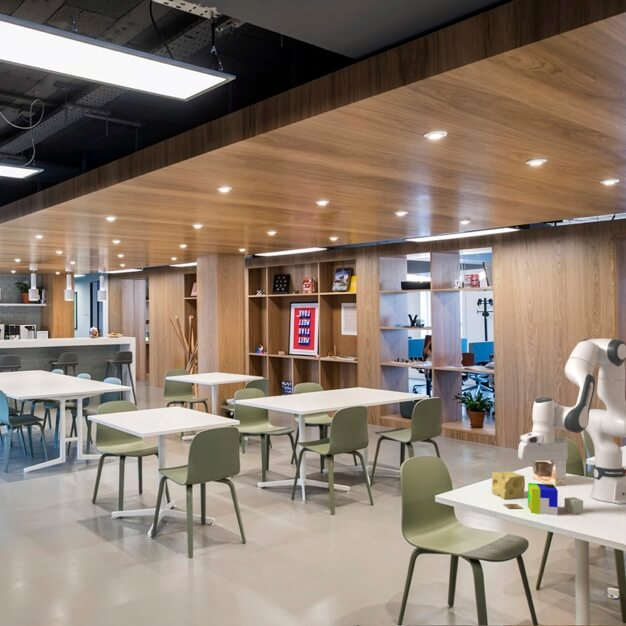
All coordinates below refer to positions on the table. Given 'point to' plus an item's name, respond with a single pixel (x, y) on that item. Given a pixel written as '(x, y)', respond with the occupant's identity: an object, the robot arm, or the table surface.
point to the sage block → (573, 505)
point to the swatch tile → (512, 506)
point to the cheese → (508, 485)
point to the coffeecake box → (554, 474)
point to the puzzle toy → (543, 499)
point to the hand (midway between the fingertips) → (542, 471)
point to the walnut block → (543, 469)
